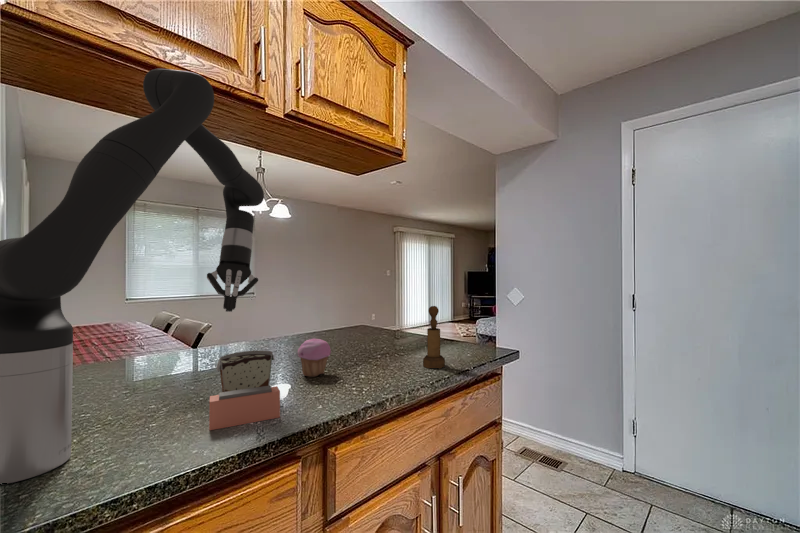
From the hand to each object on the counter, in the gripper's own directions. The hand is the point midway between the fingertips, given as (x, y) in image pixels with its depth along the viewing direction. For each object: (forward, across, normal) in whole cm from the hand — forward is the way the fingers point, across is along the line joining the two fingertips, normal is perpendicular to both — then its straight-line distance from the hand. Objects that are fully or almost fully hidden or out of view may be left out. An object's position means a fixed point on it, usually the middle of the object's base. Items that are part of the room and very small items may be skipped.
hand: (229, 311), depth 90 cm
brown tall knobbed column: (+14, +57, -9) cm, 59 cm away
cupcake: (+16, +23, 0) cm, 28 cm away
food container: (+21, +4, -10) cm, 24 cm away
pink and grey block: (+24, +4, -23) cm, 33 cm away
